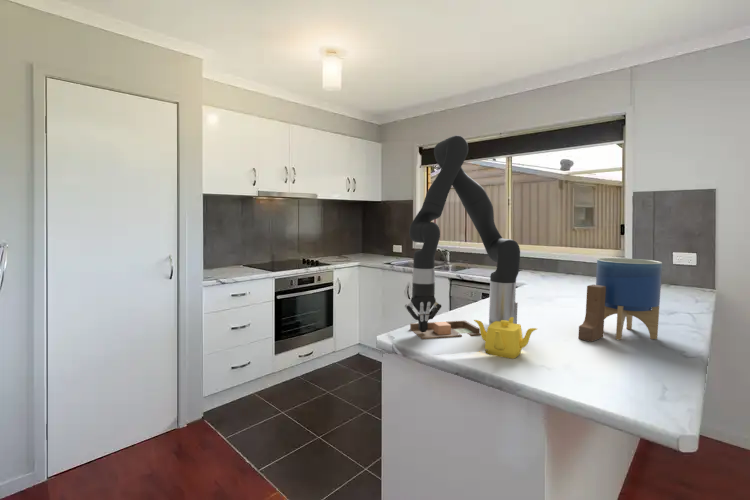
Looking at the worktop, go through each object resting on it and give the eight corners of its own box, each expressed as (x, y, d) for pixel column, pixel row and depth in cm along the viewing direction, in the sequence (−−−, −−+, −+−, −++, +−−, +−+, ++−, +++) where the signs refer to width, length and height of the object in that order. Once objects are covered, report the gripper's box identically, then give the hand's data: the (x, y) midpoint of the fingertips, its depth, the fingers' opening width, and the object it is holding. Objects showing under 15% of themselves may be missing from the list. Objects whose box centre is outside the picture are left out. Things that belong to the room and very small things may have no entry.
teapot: (495, 361, 111) (496, 328, 110) (471, 346, 125) (472, 316, 124) (539, 357, 114) (540, 325, 114) (511, 343, 128) (512, 314, 127)
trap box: (464, 329, 143) (464, 320, 143) (480, 339, 131) (481, 329, 131) (410, 333, 138) (410, 323, 138) (422, 343, 126) (422, 333, 126)
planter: (587, 333, 139) (590, 260, 137) (600, 323, 153) (604, 256, 151) (652, 346, 126) (657, 265, 124) (661, 333, 140) (666, 260, 138)
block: (445, 330, 137) (445, 321, 137) (450, 333, 133) (451, 325, 132) (433, 330, 136) (433, 322, 136) (438, 334, 132) (438, 325, 131)
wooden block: (591, 342, 129) (594, 288, 128) (577, 338, 133) (580, 286, 131) (603, 337, 135) (606, 286, 133) (590, 334, 138) (592, 284, 137)
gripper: (437, 278, 136) (436, 327, 138) (401, 280, 133) (400, 329, 135) (446, 282, 129) (445, 333, 130) (408, 283, 126) (407, 336, 127)
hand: (422, 331), depth 133 cm, fingers closed
